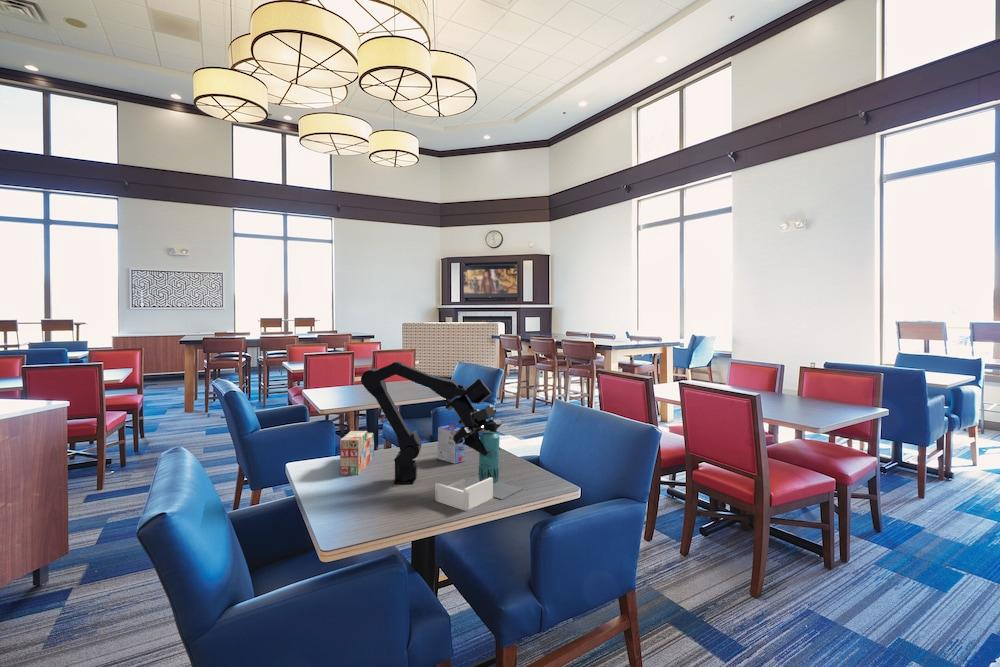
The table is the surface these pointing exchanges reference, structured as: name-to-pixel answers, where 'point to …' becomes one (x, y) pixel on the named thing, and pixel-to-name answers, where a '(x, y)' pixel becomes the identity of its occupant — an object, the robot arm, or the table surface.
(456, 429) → the ink cartridge box
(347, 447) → the stack of blocks
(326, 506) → the table surface
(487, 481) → the open-sided box
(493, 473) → the beverage bottle
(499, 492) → the mat
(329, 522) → the table surface
